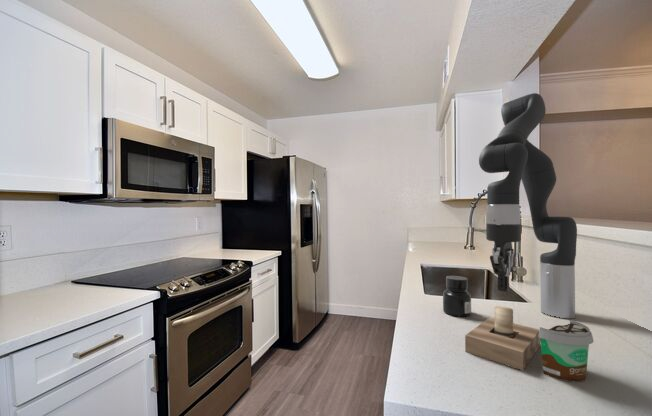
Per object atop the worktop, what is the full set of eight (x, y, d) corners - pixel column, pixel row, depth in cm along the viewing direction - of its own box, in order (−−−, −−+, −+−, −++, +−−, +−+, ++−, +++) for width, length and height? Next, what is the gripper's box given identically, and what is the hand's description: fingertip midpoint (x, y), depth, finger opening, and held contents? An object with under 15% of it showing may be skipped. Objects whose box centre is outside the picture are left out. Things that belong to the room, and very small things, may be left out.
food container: (573, 391, 55) (572, 338, 56) (538, 374, 61) (538, 327, 61) (606, 377, 60) (606, 329, 60) (572, 363, 66) (571, 319, 66)
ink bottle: (474, 319, 93) (474, 281, 94) (445, 316, 95) (445, 280, 96) (467, 309, 103) (467, 275, 103) (441, 307, 105) (441, 274, 105)
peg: (497, 343, 76) (497, 304, 76) (515, 348, 73) (515, 308, 73) (492, 348, 73) (492, 308, 73) (510, 353, 70) (510, 312, 70)
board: (489, 331, 83) (489, 317, 84) (540, 345, 75) (540, 329, 75) (465, 351, 71) (465, 335, 71) (522, 370, 62) (522, 352, 62)
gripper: (495, 221, 81) (495, 283, 81) (477, 222, 72) (478, 292, 71) (526, 222, 75) (527, 289, 75) (512, 223, 66) (513, 299, 66)
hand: (503, 290), depth 73 cm, fingers closed
